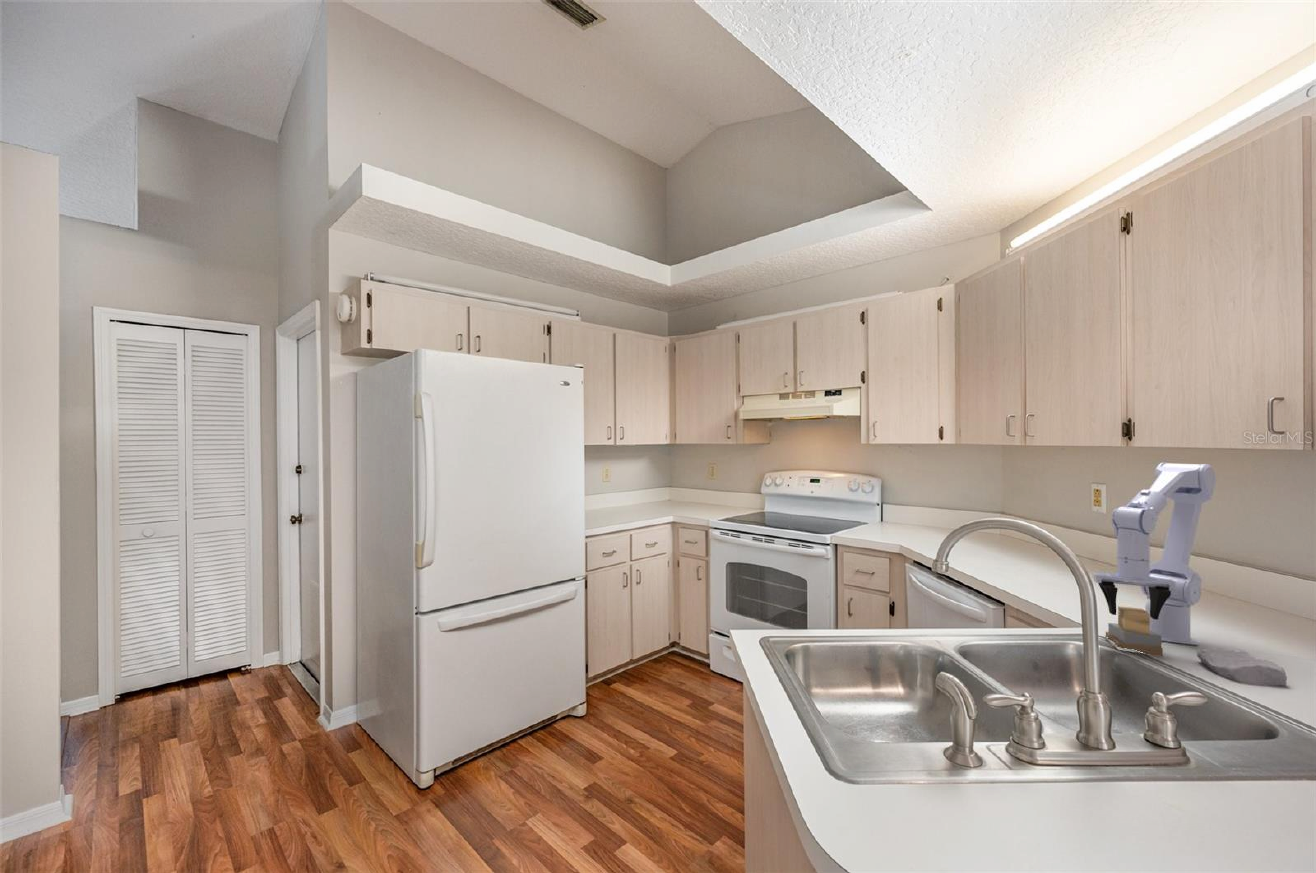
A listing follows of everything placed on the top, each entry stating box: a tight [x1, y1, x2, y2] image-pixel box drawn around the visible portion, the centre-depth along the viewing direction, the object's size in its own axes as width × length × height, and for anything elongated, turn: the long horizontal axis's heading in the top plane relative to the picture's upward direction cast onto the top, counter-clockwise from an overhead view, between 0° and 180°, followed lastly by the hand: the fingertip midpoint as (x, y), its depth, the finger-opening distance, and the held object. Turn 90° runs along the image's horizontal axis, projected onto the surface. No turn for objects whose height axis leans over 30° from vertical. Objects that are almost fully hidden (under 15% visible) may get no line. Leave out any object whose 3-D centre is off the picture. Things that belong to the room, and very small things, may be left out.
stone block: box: [1196, 647, 1288, 687], centre depth 112 cm, size 12×5×10 cm
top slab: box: [1107, 622, 1162, 647], centre depth 126 cm, size 7×7×2 cm
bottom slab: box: [1105, 631, 1164, 657], centre depth 126 cm, size 8×8×2 cm
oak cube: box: [1117, 605, 1150, 634], centre depth 126 cm, size 4×4×4 cm
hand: (1133, 616), depth 126 cm, fingers open, 7 cm apart
